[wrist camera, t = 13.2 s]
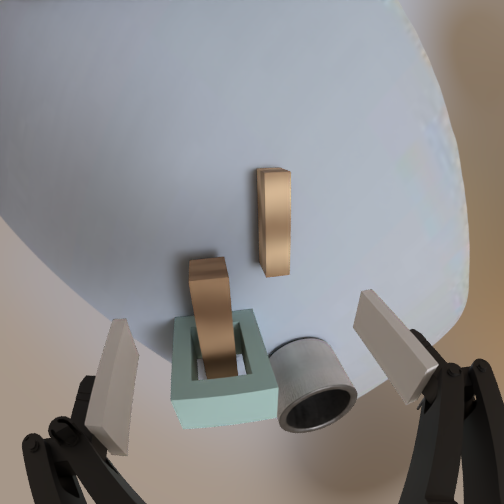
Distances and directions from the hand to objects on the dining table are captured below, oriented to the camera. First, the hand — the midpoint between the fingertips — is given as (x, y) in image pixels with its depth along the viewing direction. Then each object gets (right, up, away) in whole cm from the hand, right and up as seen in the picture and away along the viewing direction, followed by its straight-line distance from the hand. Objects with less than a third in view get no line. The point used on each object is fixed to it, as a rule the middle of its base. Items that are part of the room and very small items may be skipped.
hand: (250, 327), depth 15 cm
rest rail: (+2, +8, +19) cm, 21 cm away
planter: (+8, -15, +31) cm, 35 cm away
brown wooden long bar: (-5, -7, +22) cm, 23 cm away
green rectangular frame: (-5, -7, +25) cm, 26 cm away
